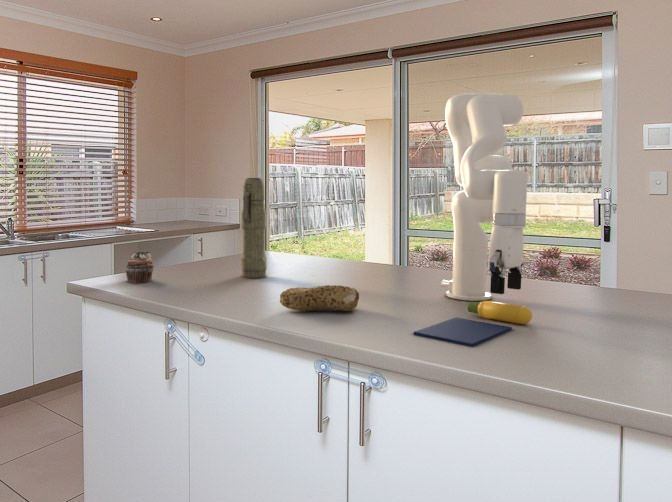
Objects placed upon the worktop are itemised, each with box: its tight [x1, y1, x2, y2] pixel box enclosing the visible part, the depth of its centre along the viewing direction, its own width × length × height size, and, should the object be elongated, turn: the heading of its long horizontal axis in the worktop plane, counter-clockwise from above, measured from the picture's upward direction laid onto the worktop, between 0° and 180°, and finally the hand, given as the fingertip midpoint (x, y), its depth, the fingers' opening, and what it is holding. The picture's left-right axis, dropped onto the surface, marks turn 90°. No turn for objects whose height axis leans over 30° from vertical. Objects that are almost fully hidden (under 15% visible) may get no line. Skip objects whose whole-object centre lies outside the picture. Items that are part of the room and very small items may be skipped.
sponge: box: [279, 284, 360, 312], centre depth 159 cm, size 13×8×20 cm
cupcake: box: [124, 251, 155, 284], centre depth 203 cm, size 10×10×10 cm
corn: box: [467, 300, 533, 325], centre depth 148 cm, size 16×4×4 cm, turn 46°
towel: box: [413, 317, 513, 347], centre depth 137 cm, size 14×20×1 cm
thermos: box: [240, 177, 268, 279], centre depth 211 cm, size 9×12×35 cm
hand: (505, 291), depth 146 cm, fingers open, 9 cm apart
